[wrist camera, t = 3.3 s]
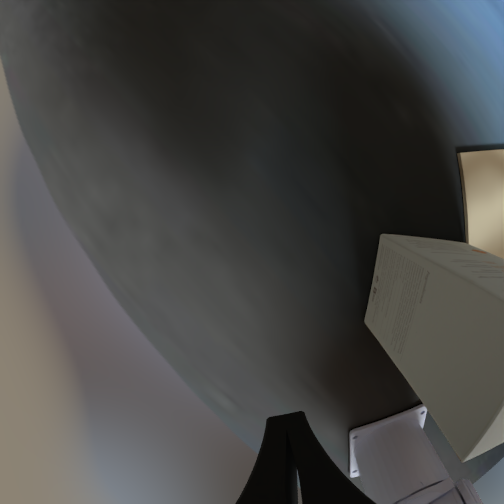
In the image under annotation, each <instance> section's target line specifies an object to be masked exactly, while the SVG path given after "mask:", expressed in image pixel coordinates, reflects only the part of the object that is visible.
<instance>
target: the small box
mask: <svg viewBox="0 0 504 504" xmlns="http://www.w3.org/2000/svg"><path fill="white" fill-rule="evenodd" d="M364 322H365V324H366V325H367V327H368V328H369V329H370V331H371V332H372V333H373V335H374V336H375V337H376V339H377V340H378V341H379V343H380V344H381V345H382V347H383V348H384V350H385V351H386V352H387V354H388V355H389V357H390V358H391V359H392V361H393V362H394V363H395V365H396V366H397V368H398V369H399V370H400V372H401V373H402V374H403V376H404V377H405V378H406V380H407V381H408V383H409V384H410V386H411V387H412V389H413V390H414V391H415V393H416V394H417V396H418V397H419V398H420V400H421V401H422V403H423V404H424V406H425V407H426V409H427V410H428V412H429V413H430V414H431V416H432V417H433V419H434V421H435V422H436V423H437V425H438V426H439V428H440V429H441V431H442V432H443V434H444V435H445V437H446V439H447V440H448V442H449V443H450V445H451V446H452V448H453V449H454V451H455V453H456V454H457V456H458V457H459V459H460V461H461V462H465V461H467V460H469V459H471V458H474V457H476V456H478V455H480V454H482V453H484V452H486V451H488V450H490V449H492V448H493V447H495V446H497V445H499V444H501V443H503V442H504V259H503V258H500V257H498V256H496V255H493V254H491V253H489V252H486V251H484V250H482V249H479V248H477V247H475V246H472V245H470V244H467V243H463V242H456V241H449V240H441V239H432V238H423V237H414V236H404V235H393V234H381V235H380V240H379V246H378V253H377V258H376V265H375V270H374V276H373V281H372V286H371V291H370V296H369V301H368V306H367V311H366V315H365V319H364Z"/></svg>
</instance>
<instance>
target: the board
mask: <svg viewBox="0 0 504 504" xmlns="http://www.w3.org/2000/svg"><path fill="white" fill-rule="evenodd" d="M457 156H458V163H459V169H460V176H461V184H462V193H463V203H464V216H465V236H466V243H467V244H470V245H472V246H475V247H477V248H479V249H482V250H484V251H486V252H489V253H491V254H493V255H496V256H498V257H500V258H503V259H504V149H500V150H486V151H474V152H463V153H457Z"/></svg>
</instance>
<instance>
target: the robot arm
mask: <svg viewBox="0 0 504 504" xmlns="http://www.w3.org/2000/svg"><path fill="white" fill-rule="evenodd" d="M426 413H427V409H426V407H425V406H424V404H421V405H419V406H416V407H414V408H412V409H409V410H407V411H404V412H402V413H399V414H396V415H394V416H391V417H388V418H386V419H383V420H380V421H377V422H374V423H371V424H368V425H365V426H362V427H359V428H355V429H353V430H351V431H350V433H349V444H350V477H357V476H360V479H361V482H362V485H363V489H364V492H365V494H364V493H363V492H361V491H360V490H359V489H358V488H357V487H356V486H355V485H354V484H353V483H352V482H351V481H350V480H349V479H348V478H347V477H346V476H345V475H344V474H343V473H342V472H341V471H340V469H339V468H338V467H337V466H336V465H335V463H334V462H333V461H332V460H331V458H330V457H329V456H328V455H327V453H326V452H325V450H324V449H323V447H322V446H321V444H320V443H319V442H318V440H317V438H316V437H315V435H314V433H313V431H312V430H311V428H310V426H309V423H308V421H307V419H306V416H305V412H303V411H299V412H294V413H289V414H284V415H279V416H273V417H269V418H268V419H267V421H266V428H265V433H264V437H263V441H262V445H261V448H260V451H259V454H258V457H257V460H256V463H255V466H254V468H253V471H252V473H251V475H250V477H249V480H248V482H247V484H246V486H245V488H244V490H243V491H242V493H241V495H240V497H239V499H238V500H237V502H236V504H298V490H297V470H298V475H299V480H300V487H301V495H302V503H303V504H483V503H482V501H481V499H480V498H479V495H478V494H477V492H476V490H475V489H474V487H473V485H472V483H471V482H470V480H469V479H464V480H463V479H460V480H458V481H457V482H456V484H457V486H458V487H457V486H456V484H455V483H454V481H453V480H452V479H451V478H450V476H449V474H448V472H447V471H446V469H445V467H444V465H443V463H442V462H441V460H440V458H439V456H438V455H437V453H436V451H435V449H434V448H433V446H432V444H431V442H430V441H429V439H428V437H427V436H426V434H425V432H424V431H423V426H424V421H425V417H426ZM458 488H459V489H458ZM459 490H460V491H459Z"/></svg>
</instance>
